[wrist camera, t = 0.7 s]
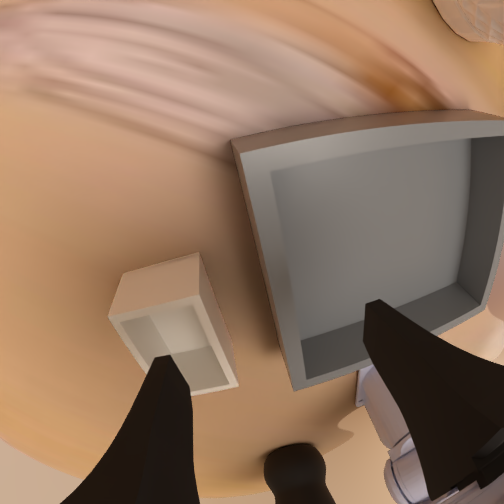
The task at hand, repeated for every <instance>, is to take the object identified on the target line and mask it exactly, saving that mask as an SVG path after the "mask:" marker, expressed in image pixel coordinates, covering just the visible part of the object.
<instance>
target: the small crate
mask: <svg viewBox="0 0 504 504" xmlns="http://www.w3.org/2000/svg"><path fill="white" fill-rule="evenodd" d="M107 317H108V319H109V320H110V322H111V323H112V325H113V327H114V328H115V330H116V331H117V333H118V334H119V336H120V337H121V339H122V340H123V342H124V343H125V345H126V346H127V348H128V349H129V351H130V352H131V354H132V355H133V357H134V358H135V359H136V361H137V362H138V364H139V365H140V366H141V368H142V369H143V370H144V372H145V373H146V375H147V373H148V371H149V368H150V366H151V364H152V362H153V360H154V358H155V357H159V356H165V355H171V357H172V358H173V360H174V362H175V363H176V365H177V367H178V368H179V370H180V372H181V373H182V375H183V377H184V378H185V380H186V381H187V383H188V385H189V386H190V393H191V396H195V395H200V394H206V393H211V392H216V391H221V390H225V389H230V388H235V387H239V382H238V376H237V370H236V363H235V357H234V350H233V343H232V340H231V337H230V334H229V332H228V329H227V327H226V324H225V321H224V319H223V316H222V314H221V311H220V308H219V306H218V303H217V300H216V298H215V295H214V292H213V289H212V287H211V284H210V281H209V278H208V276H207V273H206V270H205V267H204V264H203V262H202V259H201V256H200V253H199V252H197V253H193V254H190V255H186V256H183V257H179V258H175V259H172V260H168V261H164V262H161V263H157V264H154V265H150V266H147V267H143V268H139V269H136V270H132V271H129V272H125V273H123V275H122V277H121V280H120V283H119V285H118V288H117V291H116V293H115V296H114V299H113V302H112V305H111V308H110V310H109V313H108V316H107Z"/></svg>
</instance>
